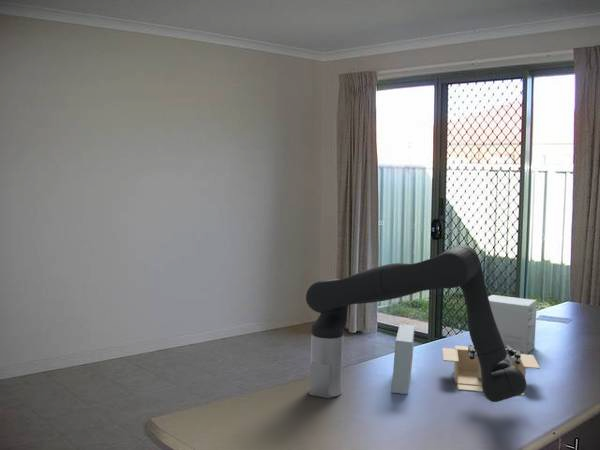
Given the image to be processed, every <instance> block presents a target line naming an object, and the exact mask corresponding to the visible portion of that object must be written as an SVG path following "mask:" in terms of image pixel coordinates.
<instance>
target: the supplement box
mask: <svg viewBox="0 0 600 450" xmlns="http://www.w3.org/2000/svg"><path fill="white" fill-rule="evenodd" d="M488 299H489V303H490V306H491V310H492V313H493V316H494V319H495V322H496V325H497V328H498V330H499V333H500V335H501V338H502V341H503V343H504V346H505V348H506V345H509V347H511V348H512V349H513V350H520V354H527V355H529V353H530V352H531V351H533V349H535V348H536V347H535V344H536V343H535V339H536V325H537V324H536V323H537V304H538V303H537V302H538V301H537V299H530V298H529V299H528V298H522V297H521V298H520V297H512V296H506V295H497V294H491V295H489V296H488Z"/></svg>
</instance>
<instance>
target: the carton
mask: <svg viewBox="0 0 600 450" xmlns="http://www.w3.org/2000/svg"><path fill="white" fill-rule="evenodd" d="M513 351H515V350H513ZM442 361H443V362H450V363H451V362H454V363H453V365H454V366H453V375H454V385H455V386H457V390H458V391H469V392H478V393H484V392H483V388H482V380H480V378H478V376H477V373H478V357H475V358H474V359H470V358H469V355H468V346H466V345H464V346H463V345H454V348H449V347H448V348H447V347H442ZM511 361H512V360H511ZM512 365H514V366H516V367H517V368H518V369H519V370H520V371H521V372H522V373H523V375H524V377H525V378H526V371H527V370H526V369H538V370H539V369H541V367H540V366H539V364H538V362H537V360H536V357H535V356H534V354H521V358H520V364H516V363H515V362H514V361H512ZM520 396H521V397H522V396H524V397H525V392H524V393H523V394H521V395H520Z"/></svg>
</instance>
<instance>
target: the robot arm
mask: <svg viewBox="0 0 600 450" xmlns="http://www.w3.org/2000/svg"><path fill="white" fill-rule="evenodd" d="M484 278H485V277H484V274H483V268H482V264H481V260H480V257H479V255H478V253H477V251H476V250H475V249H474V248H473V247H471V246H470V245H467V244H457V245H454V246H452V247H451V248H449V249H447V250H445V251H443V252H442V253H440V254H438V255H436V256H433V257H431V258H428V259H425V260H422V261H419V262H415V263H405V262H397V263H395V262H393V263H388V264H384V265H380V266H375V267H373V268H369V269H366V270H363V271H360V272H358V273H355V274H352V275H350V276H348V277H344V278H335V277H333V278H328V279H324V280H318V281H316V282H314V283H312V284H311V285H310V286H309V288H308V289H307V291H306V294H305V301H306V302H305V303H306V304H307V305H308V307H309V308H310V309H311V310H312V311H313V312H316V313H319V316H318V318H317V319H316V320H315V321H314V322H313V323H312V324H311V337H310V339H311V340H310V342H311V343H310V345H311V346H310V366H309V368H310V371H309V372H310V373H309V395H310V396H313V397H314V396H315V397H320V398H325V399H330V398H335V397H339V396H340V395H341V394H342V385H343V384H342V381H343V379H342V378H343V351H344V330H345V327H346V325H347V323H348V311H349V310H348V309H349V305H359V304H360V305H361V304H368V303H369V304H370V303H378V302H385V301H389V300H390V301H391V300H396V299H399V298H402V297H406V296H411V295H415V294H417V293H420V292H424V291H432V290H433V291H434V290H442V289H443V290H445V289H455V288H460V289H461V292H462V294H463V298H464V302H465V309H466V317H467V328H468V332H469V336H470V337H469V338H470V341H471V342H472V344H468V346H467V347H468V355H469V358H470V359H474V358H475V357H478V359H479V363H480V367H481V376H482V388H483V392H482V393H483V394H484V396H485V398H486V399H487V400H488V401H490V402H492V403H498V402H502V401H505V400H508V399H511V398H515V397H519V396H521V394H523V393H524V394H525V392H526V389H527V380H526V376H525V377H524V375H523V373H522V372H521V371H520V370H519V369H518V368H517V367H516V366H514V365H512V361H514V362H515V363H516V364H520V358H521V354H520V350H515V351H513V349H512V348H511V347H509V345H506V348H505V346H504V343H503V341H502V338H501V335H500V333H499V330H498V328H497V325H496V322H495V319H494V316H493V313H492V310H491V306H490V303H489V299H488V297H489V296H488V291H487V287H486V282H485V279H484ZM511 360H512V361H511Z"/></svg>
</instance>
